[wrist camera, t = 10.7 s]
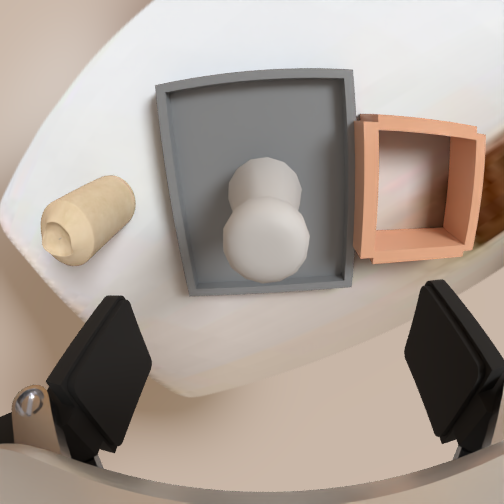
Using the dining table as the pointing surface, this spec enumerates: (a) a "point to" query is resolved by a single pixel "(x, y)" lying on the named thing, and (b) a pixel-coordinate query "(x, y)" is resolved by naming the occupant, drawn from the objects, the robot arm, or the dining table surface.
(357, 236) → the open container
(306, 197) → the tray
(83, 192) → the candle
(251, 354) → the dining table surface
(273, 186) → the salt shaker
